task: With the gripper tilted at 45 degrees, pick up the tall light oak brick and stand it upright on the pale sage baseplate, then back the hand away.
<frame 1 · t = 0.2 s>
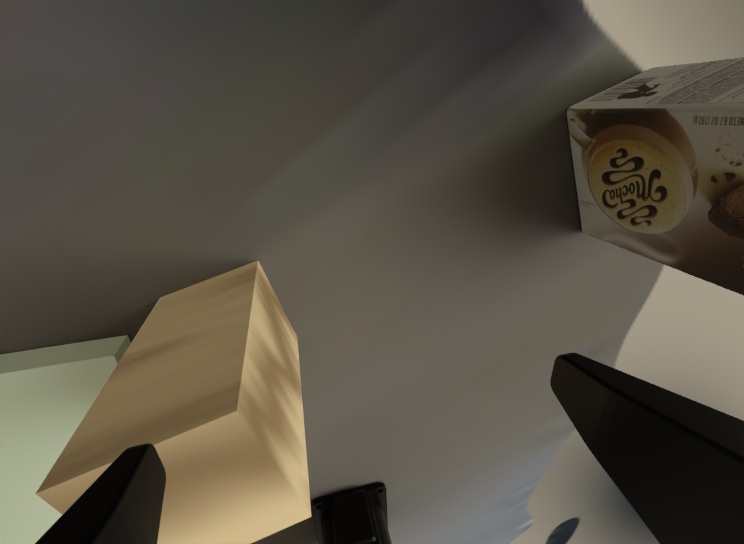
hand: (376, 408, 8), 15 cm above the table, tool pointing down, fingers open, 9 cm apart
oak brick: (233, 318, 22), on the table
sage baseplate: (43, 444, 23), on the table
coffee box: (610, 155, 24), on the table
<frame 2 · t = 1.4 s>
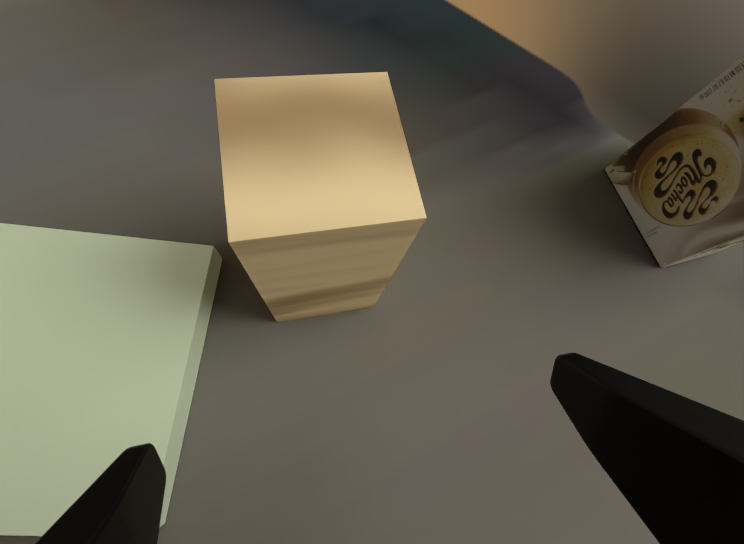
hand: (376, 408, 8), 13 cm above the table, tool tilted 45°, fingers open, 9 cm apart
oak brick: (319, 268, 23), on the table
sage baseplate: (61, 365, 19), on the table
coffee box: (657, 209, 28), on the table
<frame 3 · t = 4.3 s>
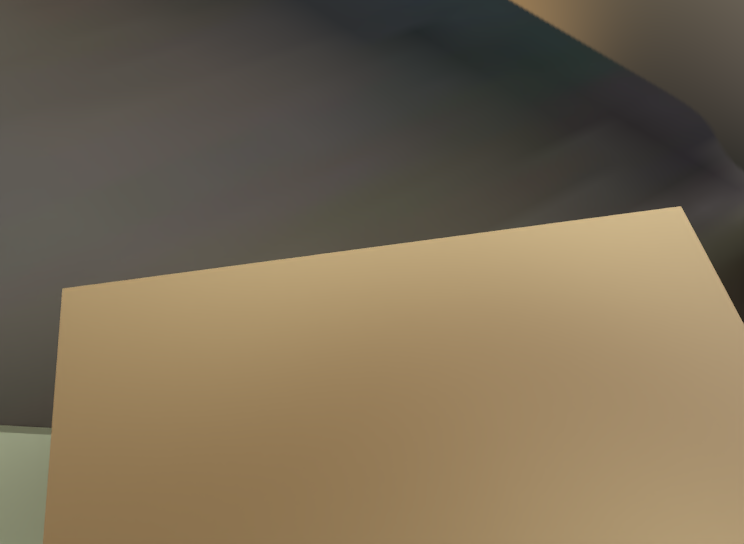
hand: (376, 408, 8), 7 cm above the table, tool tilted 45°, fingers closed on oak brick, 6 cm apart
oak brick: (359, 443, 14), on the table, touching gripper
when the fingers open (10 cm above the table, at t = 9.4 s): oak brick drops 1 cm, resting on sage baseplate.
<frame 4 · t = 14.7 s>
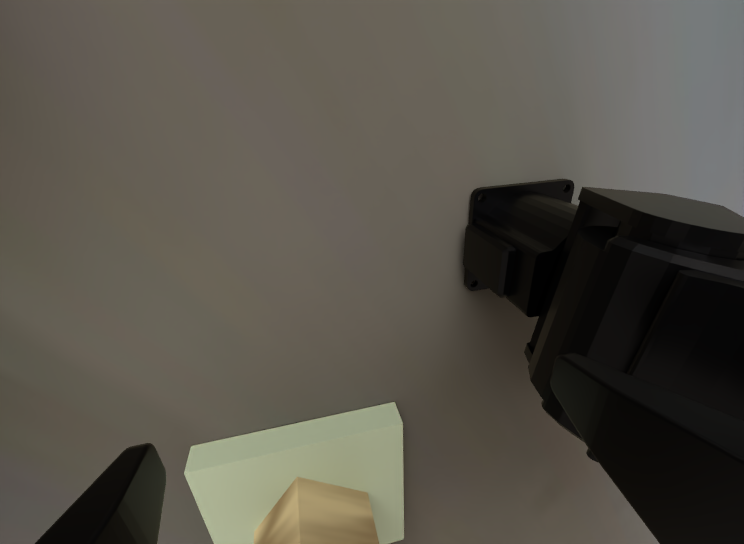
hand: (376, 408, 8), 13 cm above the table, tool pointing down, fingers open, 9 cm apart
oak brick: (312, 511, 26), point 2 cm above the table, touching sage baseplate
sage baseplate: (310, 486, 28), on the table
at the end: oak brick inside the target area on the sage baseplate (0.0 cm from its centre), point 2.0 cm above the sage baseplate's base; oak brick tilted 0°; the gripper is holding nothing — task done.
